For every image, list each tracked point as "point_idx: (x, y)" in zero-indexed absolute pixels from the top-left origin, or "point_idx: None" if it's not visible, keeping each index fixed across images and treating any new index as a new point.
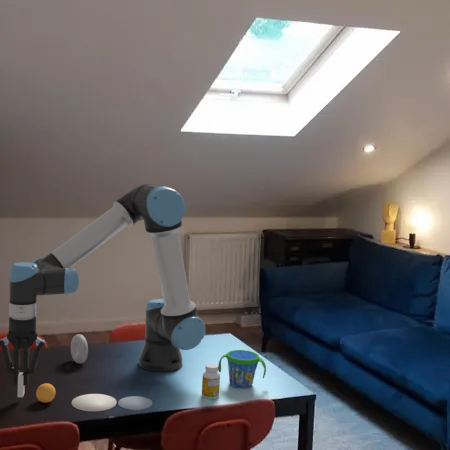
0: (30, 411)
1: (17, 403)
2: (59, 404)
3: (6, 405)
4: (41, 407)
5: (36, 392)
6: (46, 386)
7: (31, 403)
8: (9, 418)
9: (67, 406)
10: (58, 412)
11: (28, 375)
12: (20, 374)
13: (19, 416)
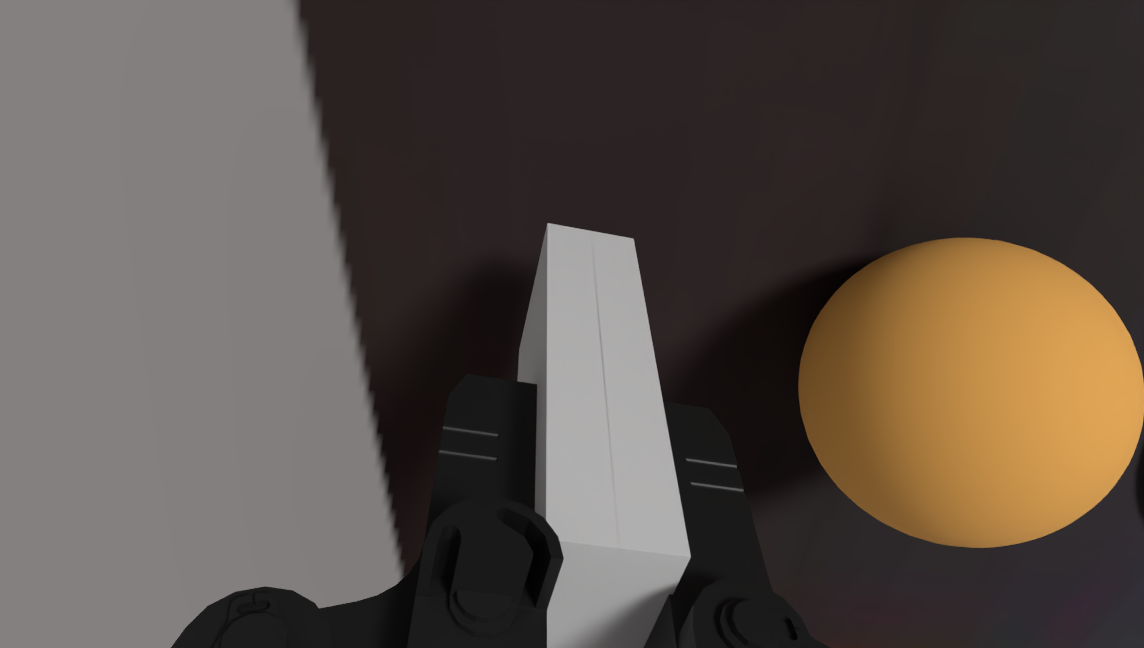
0: None
1: (523, 294)
2: None
3: (381, 334)
4: (800, 435)
5: (812, 420)
6: (997, 544)
7: (707, 319)
8: None
9: None
10: (931, 550)
11: (759, 563)
12: (562, 644)
13: None
